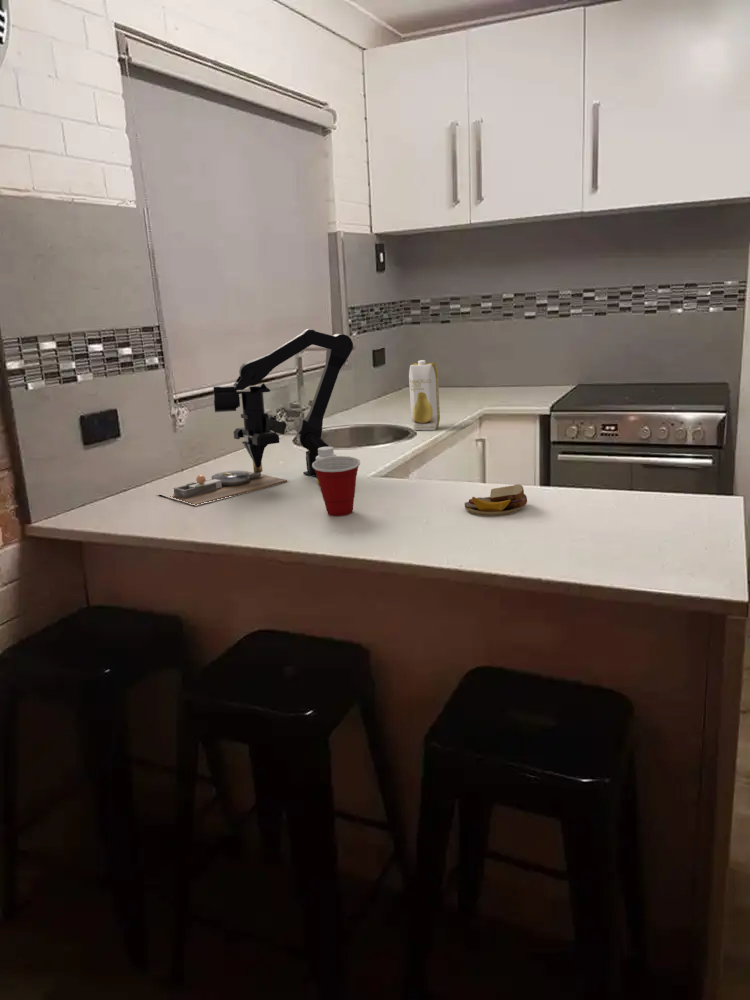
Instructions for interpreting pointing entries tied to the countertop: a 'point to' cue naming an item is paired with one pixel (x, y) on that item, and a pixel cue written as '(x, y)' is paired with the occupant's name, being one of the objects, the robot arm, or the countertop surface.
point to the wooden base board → (222, 489)
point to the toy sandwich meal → (498, 502)
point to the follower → (205, 482)
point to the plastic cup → (337, 483)
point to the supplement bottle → (325, 454)
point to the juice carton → (424, 395)
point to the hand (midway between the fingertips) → (258, 467)
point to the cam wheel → (237, 476)
